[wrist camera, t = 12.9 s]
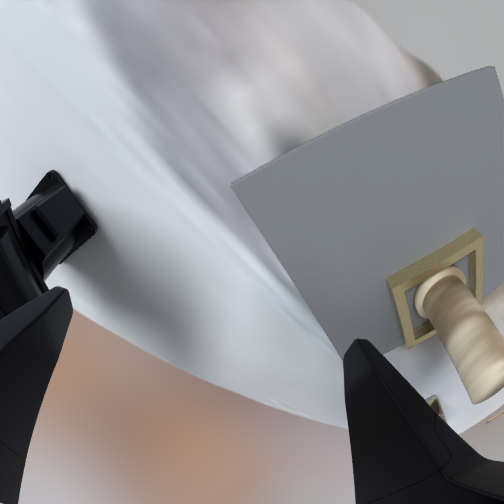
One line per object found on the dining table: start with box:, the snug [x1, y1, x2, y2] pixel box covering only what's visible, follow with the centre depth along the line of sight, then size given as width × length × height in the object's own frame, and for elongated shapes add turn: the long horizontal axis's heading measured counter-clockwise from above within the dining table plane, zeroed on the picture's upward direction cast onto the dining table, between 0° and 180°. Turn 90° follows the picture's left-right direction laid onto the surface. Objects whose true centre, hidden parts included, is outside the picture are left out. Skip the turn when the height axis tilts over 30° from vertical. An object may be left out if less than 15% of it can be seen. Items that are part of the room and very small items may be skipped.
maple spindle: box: [413, 264, 504, 404], centre depth 18 cm, size 6×6×12 cm
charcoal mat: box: [231, 66, 504, 360], centre depth 21 cm, size 24×24×1 cm
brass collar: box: [386, 228, 483, 349], centre depth 23 cm, size 10×10×2 cm
